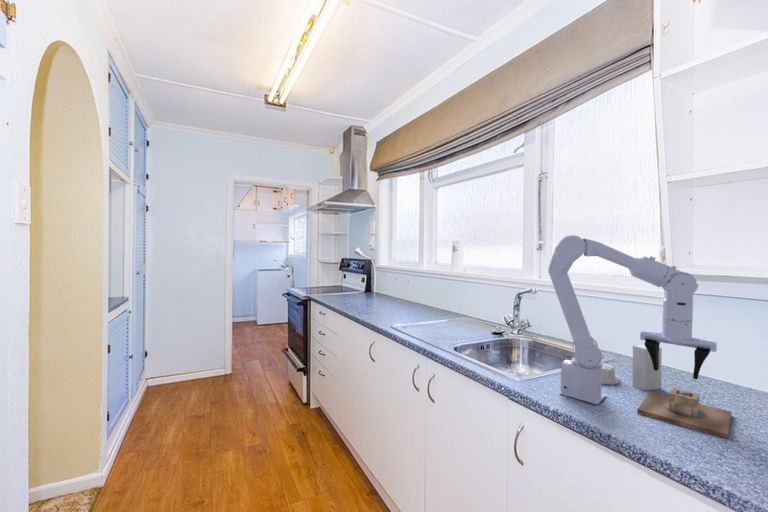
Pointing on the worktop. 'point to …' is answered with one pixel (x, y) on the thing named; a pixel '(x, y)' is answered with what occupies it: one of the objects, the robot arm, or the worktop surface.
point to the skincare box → (645, 369)
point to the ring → (684, 402)
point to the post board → (705, 420)
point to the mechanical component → (609, 375)
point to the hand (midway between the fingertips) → (675, 373)
